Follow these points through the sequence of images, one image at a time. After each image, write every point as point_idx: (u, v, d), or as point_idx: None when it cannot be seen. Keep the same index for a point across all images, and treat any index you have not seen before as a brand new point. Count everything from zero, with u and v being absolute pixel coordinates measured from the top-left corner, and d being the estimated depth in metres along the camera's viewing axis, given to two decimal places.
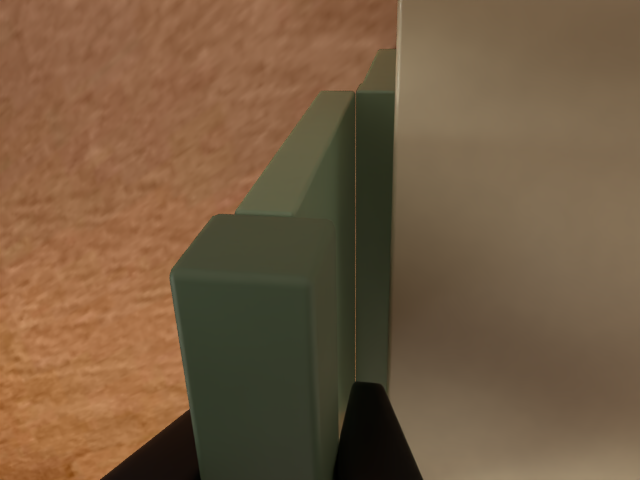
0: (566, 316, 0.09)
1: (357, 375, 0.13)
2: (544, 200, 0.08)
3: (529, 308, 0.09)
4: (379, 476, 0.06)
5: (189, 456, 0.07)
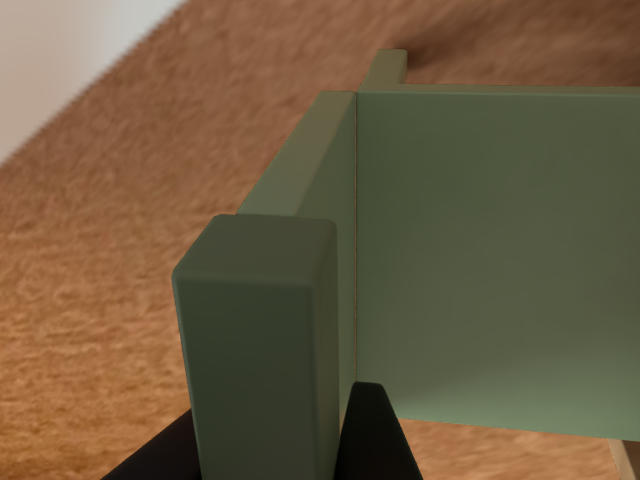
0: None
1: (357, 375, 0.13)
2: None
3: None
4: (379, 476, 0.06)
5: (189, 456, 0.07)
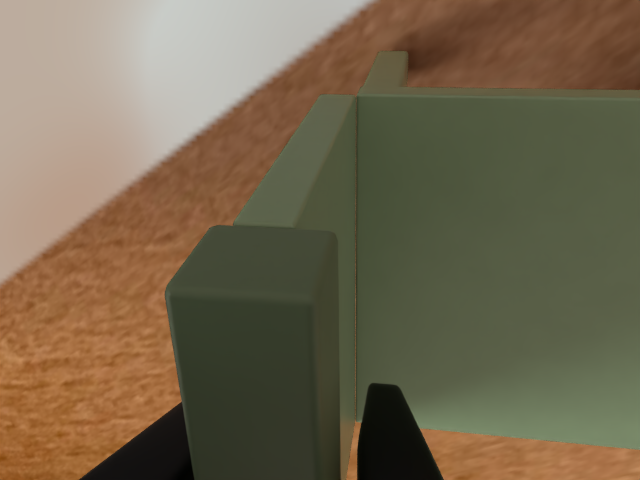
0: None
1: (357, 383, 0.13)
2: None
3: None
4: (401, 479, 0.06)
5: (171, 454, 0.07)
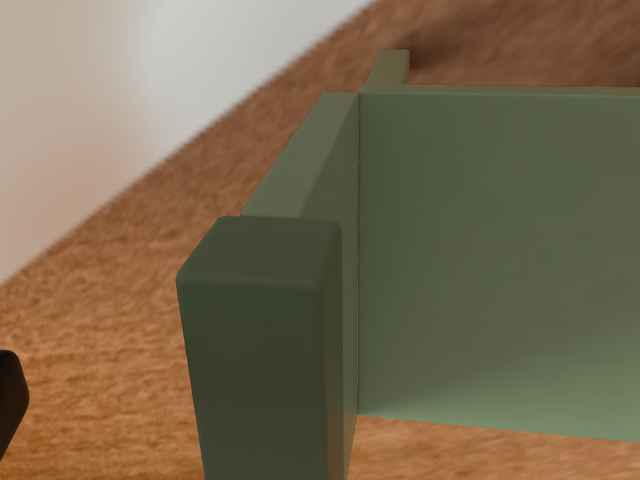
0: None
1: (359, 376, 0.13)
2: None
3: None
4: None
5: None
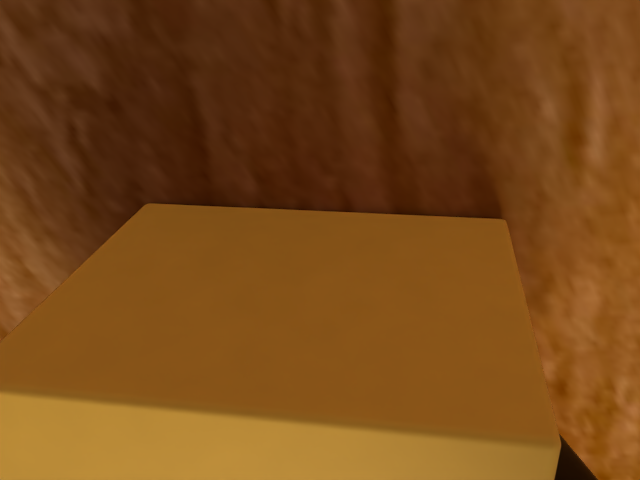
0: None
1: None
2: None
3: None
4: None
5: None
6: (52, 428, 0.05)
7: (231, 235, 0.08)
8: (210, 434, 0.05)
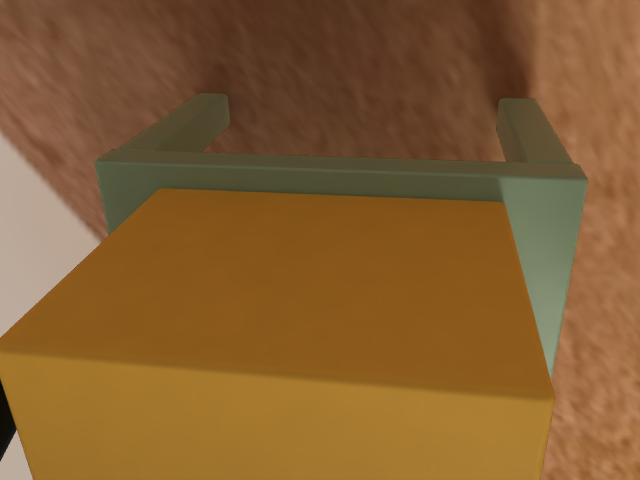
0: None
1: None
2: None
3: None
4: None
5: None
6: (80, 389, 0.06)
7: (242, 216, 0.08)
8: (229, 393, 0.05)
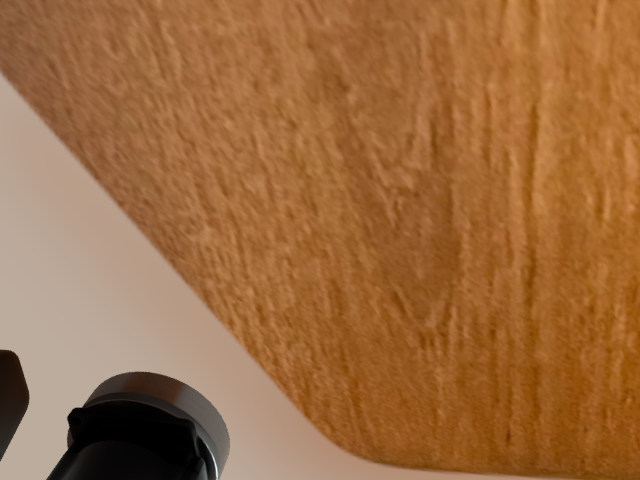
0: None
1: None
2: None
3: None
4: None
5: None
6: None
7: None
8: None
